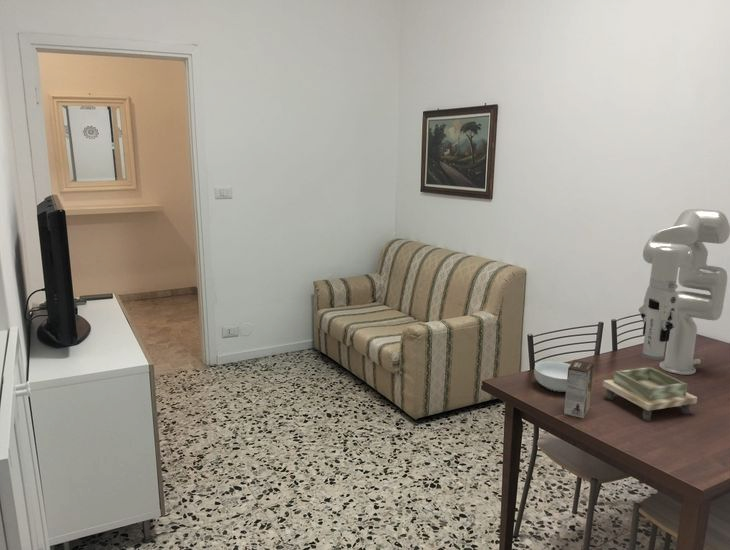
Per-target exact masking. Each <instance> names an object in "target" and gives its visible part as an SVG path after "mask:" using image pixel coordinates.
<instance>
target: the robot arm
mask: <svg viewBox="0 0 730 550" xmlns="http://www.w3.org/2000/svg"><path fill="white" fill-rule="evenodd" d="M729 237H730V223H729V220H728V217H727V216H726V214H725V213H724V212H722V211H720V210H715V209H713V210H712V209H699V208H691V209H690V208H689V209H685V210H684V211H682V212H681V213H680V215H679V216H678V218H677V219H676V221H675V223H674V224H673V226H671V227H668V228H664V229H661V230H659V231H658V230H657V231H656V232H654V233H653V234H651V236H650V237H649V238H648V240H647V242H646V243H645V245H644V247H643V252H642V257H643V260H644V261H645V262H646V264H650V265H651V269H650V276H649V277H650V279H649V285H648V287H647V288H646V292H645V295H644V300H643V305H641V306H640V307H639V308H638V312H639V314H640V317H641V319H642V323H643V329H642V336H643V335H644V336H645V329H646V320H647V312H648V305H649V298H650V299H651V300H652V301H655V302H659V318H660V320H661V321H662V327H663V329H662V330H661V334H660V341H661V342H665V341H666V345H665V353H664V360H663V361H660V362H659V368H660V369H662V370H663V371H666V372H667V373H673V374H675V375H685V376H686V375H687V376H690V375H693V374H696V371H697V369H696V367H694V365H698V364H701V359H700V358H694V355H695V347H696V340H697V339H696V338H697V335H698V334H697V333H698V328H697V324H696V322H695V321H694V320H693V318H696V319H700V320H701V319H702V320H705V321H718V320H719V319H720V318H721V316H722V314H723V309H724V304H725V303H724V302H725V297H726V290H727V283H728V273H727V271H726V269H724V268H723V267H720V266H717V265H716V266H714V265H708V264H707V263H708V262H707V261H708V256H709V251H708V249H707V246H705V244H704V243H708V244H719V245H720V244H724V243H726V242H727V241H728V240H729ZM677 280H678V281H677ZM677 282H678V284H679V285H680V286H681V287H683V288H688V289H693V290H700V291H707V292H709V293H710V294H706V293H701V292H694V291H688V290H679V291H678V290H676V289H678V287H679V285H678V284H677ZM667 319H668V320H667ZM666 322H667V324H668V325H666Z"/></svg>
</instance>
